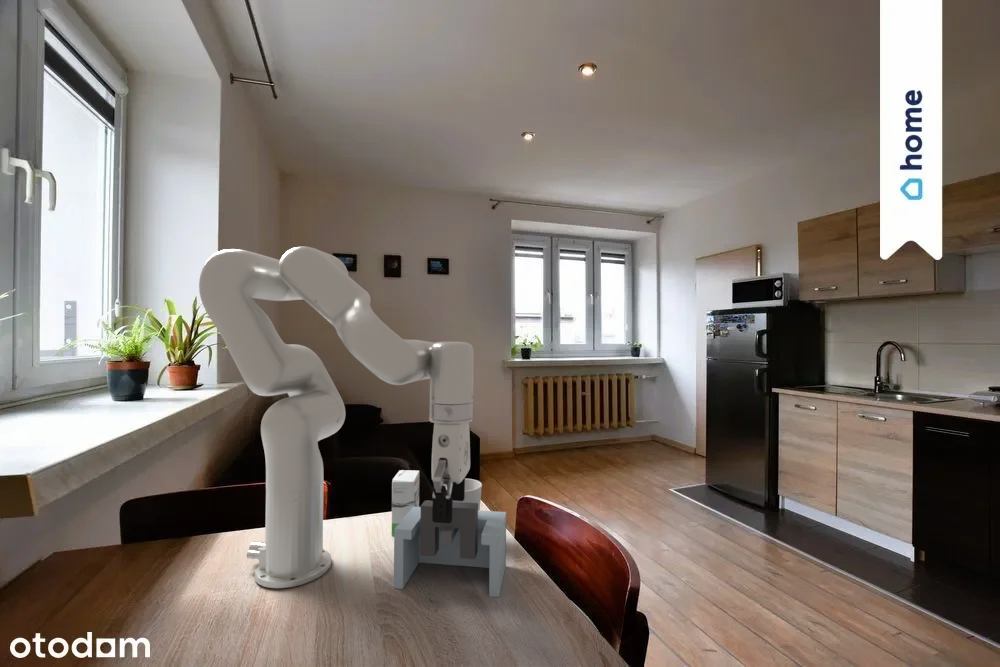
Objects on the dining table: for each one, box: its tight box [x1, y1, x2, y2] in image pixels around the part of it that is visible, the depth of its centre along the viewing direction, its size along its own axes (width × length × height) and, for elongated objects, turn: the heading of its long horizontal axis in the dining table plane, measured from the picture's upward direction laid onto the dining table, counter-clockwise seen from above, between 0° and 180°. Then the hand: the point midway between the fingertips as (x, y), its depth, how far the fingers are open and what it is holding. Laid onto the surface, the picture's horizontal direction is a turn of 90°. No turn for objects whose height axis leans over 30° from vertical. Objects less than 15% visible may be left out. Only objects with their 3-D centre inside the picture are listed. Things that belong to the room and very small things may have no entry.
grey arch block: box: [420, 499, 478, 559], centre depth 76 cm, size 10×3×8 cm, turn 83°
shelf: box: [393, 506, 507, 598], centre depth 78 cm, size 18×10×10 cm, turn 83°
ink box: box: [391, 469, 420, 537], centre depth 97 cm, size 9×5×12 cm, turn 2°
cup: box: [443, 478, 483, 511], centre depth 91 cm, size 8×8×12 cm
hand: (449, 510), depth 76 cm, fingers open, 9 cm apart
